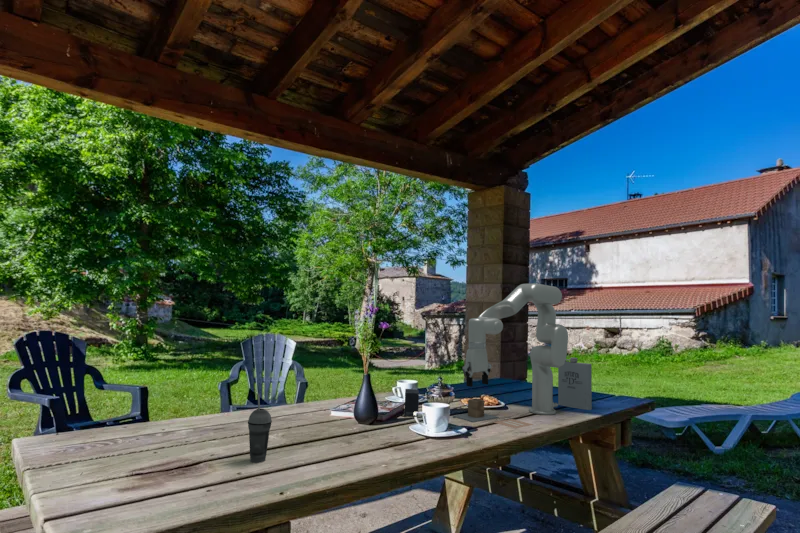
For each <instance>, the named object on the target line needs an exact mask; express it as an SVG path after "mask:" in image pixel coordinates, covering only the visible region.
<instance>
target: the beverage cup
mask: <svg viewBox="0 0 800 533" xmlns="http://www.w3.org/2000/svg"><path fill="white" fill-rule="evenodd" d="M260 397H261V396H260V393H257V409H255V410H253V411H252V412H251V413H250V415H249V417H248V421H247V427H248V428H247V429H248V437H249V459H250V462H251V463H254V464H255V463H256V464H258V463H263V462H265V461H266V457H267V452H268V444H269V436H270V430H271V427H272V424H273V421H272V414H271V413H270V412H269V411H268V410H267V409H265V408H261V403H260V402H261V401H260V399H261V398H260Z"/></svg>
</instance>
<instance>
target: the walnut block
mask: <svg viewBox="0 0 800 533" xmlns="http://www.w3.org/2000/svg"><path fill="white" fill-rule="evenodd" d="M467 413H468V416H471V417H474V418H479V417H484V413H485V400H484V399H479V398H470V399H468V401H467Z"/></svg>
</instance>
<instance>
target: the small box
mask: <svg viewBox="0 0 800 533" xmlns="http://www.w3.org/2000/svg"><path fill="white" fill-rule="evenodd" d="M419 395H420V391H419V389H413V388H405V391H404V410H403V411H404V412H403V413H404V414H403V416H404V417H414V416H413V412H414V411H418V412H419V407H420V406H419V403H420V396H419Z"/></svg>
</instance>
